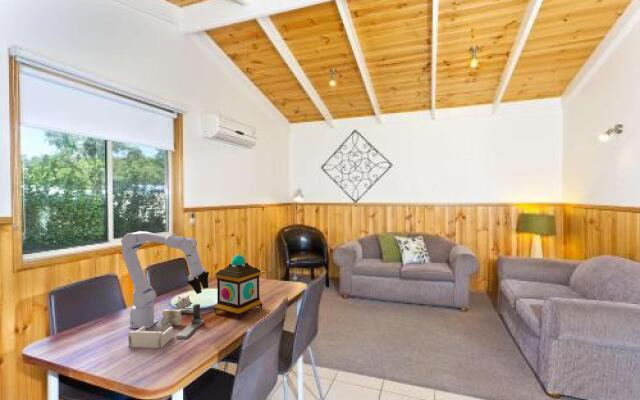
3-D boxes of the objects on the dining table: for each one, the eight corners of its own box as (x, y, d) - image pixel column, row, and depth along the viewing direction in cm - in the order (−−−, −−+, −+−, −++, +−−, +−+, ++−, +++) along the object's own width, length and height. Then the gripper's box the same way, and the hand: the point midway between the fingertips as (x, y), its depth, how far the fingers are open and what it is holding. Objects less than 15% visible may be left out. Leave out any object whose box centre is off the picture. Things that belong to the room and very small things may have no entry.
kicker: (163, 325, 145) (162, 306, 145) (167, 321, 149) (167, 303, 149) (198, 325, 145) (198, 306, 144) (202, 322, 148) (202, 304, 148)
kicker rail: (176, 338, 133) (176, 335, 133) (194, 322, 150) (194, 319, 150) (186, 338, 132) (186, 335, 132) (203, 322, 149) (203, 319, 149)
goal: (128, 347, 125) (128, 332, 125) (142, 336, 134) (142, 322, 134) (161, 347, 125) (160, 332, 124) (173, 337, 134) (172, 323, 134)
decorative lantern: (239, 322, 149) (238, 260, 149) (210, 314, 159) (209, 256, 158) (266, 309, 166) (265, 253, 166) (238, 302, 176) (238, 249, 176)
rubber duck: (162, 335, 135) (162, 317, 135) (154, 332, 139) (154, 314, 139) (174, 331, 140) (174, 313, 139) (166, 327, 143) (166, 310, 143)
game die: (185, 319, 162) (183, 308, 156) (171, 312, 163) (169, 301, 157) (196, 306, 169) (195, 295, 163) (183, 299, 170) (182, 288, 164)
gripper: (195, 264, 139) (204, 293, 139) (208, 257, 153) (216, 283, 153) (180, 268, 139) (189, 297, 139) (195, 261, 153) (203, 287, 154)
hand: (202, 290), depth 146 cm, fingers open, 7 cm apart
